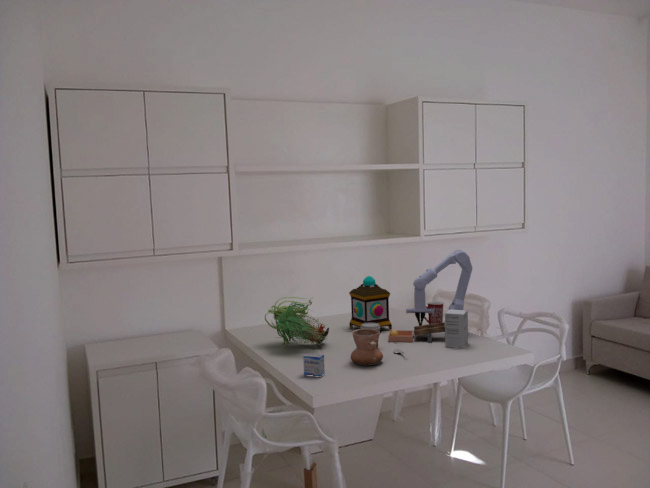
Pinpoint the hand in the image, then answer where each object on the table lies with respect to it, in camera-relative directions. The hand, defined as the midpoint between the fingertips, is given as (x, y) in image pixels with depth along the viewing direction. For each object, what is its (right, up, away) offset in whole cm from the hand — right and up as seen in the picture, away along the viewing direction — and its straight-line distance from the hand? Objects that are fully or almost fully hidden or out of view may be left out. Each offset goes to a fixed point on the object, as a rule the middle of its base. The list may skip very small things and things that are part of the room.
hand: (420, 326), depth 294 cm
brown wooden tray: (+4, -1, -6) cm, 8 cm away
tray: (-11, -6, -6) cm, 14 cm away
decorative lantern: (-25, -4, +17) cm, 30 cm away
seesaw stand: (+3, -5, -9) cm, 11 cm away
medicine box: (-55, -12, -59) cm, 81 cm away
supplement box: (+14, -6, -22) cm, 27 cm away
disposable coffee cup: (-28, -8, -22) cm, 36 cm away
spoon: (-14, -9, -37) cm, 41 cm away
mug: (+10, -3, +17) cm, 20 cm away
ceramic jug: (-32, -10, -44) cm, 55 cm away
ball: (-14, -3, -6) cm, 16 cm away
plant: (-61, -9, -17) cm, 64 cm away
